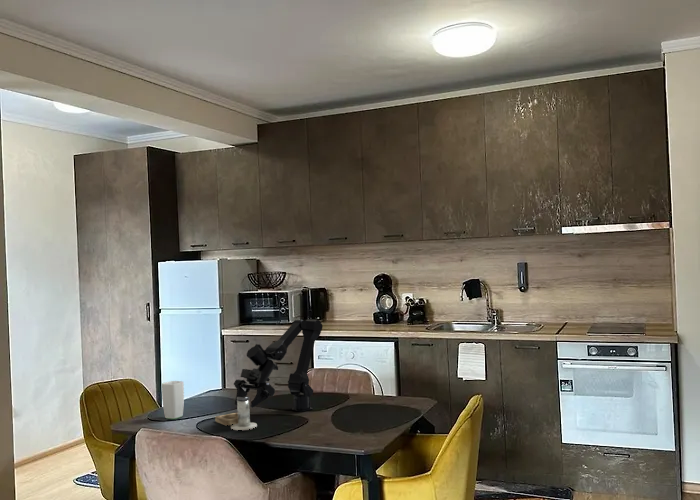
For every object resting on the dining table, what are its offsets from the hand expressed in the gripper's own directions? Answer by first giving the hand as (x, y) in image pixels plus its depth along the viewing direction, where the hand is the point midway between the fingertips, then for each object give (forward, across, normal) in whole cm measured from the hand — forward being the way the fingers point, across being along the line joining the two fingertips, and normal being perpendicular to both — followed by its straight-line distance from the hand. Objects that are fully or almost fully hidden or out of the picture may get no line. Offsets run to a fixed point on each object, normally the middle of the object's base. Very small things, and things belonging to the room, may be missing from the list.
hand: (243, 405), depth 250 cm
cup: (+9, -38, +2) cm, 40 cm away
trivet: (+6, 0, +6) cm, 8 cm away
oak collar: (+3, -12, +8) cm, 15 cm away
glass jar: (+5, 0, +5) cm, 8 cm away
